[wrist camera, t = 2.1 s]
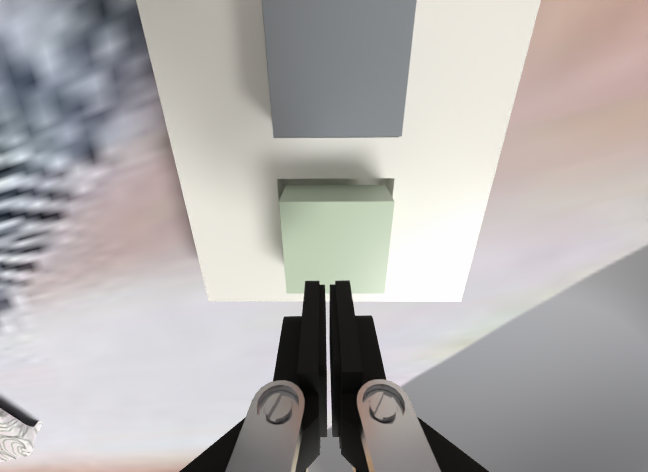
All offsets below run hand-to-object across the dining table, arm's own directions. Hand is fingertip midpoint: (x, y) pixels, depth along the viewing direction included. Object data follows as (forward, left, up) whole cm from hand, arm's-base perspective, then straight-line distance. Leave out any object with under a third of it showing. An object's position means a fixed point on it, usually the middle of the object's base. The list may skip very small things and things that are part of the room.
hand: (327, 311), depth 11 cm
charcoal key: (0, -8, -6) cm, 10 cm away
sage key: (0, 0, -6) cm, 6 cm away
